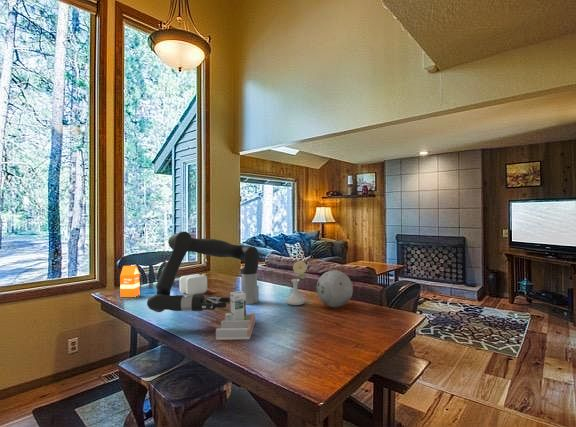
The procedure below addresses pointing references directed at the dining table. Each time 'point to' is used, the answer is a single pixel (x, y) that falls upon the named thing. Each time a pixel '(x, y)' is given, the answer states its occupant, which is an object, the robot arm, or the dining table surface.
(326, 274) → the moon model
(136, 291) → the orange juice
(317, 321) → the dining table surface
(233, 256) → the robot arm
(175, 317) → the dining table surface
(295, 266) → the flower in vase
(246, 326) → the divided tray
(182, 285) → the cable organizer
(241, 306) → the syrup box
